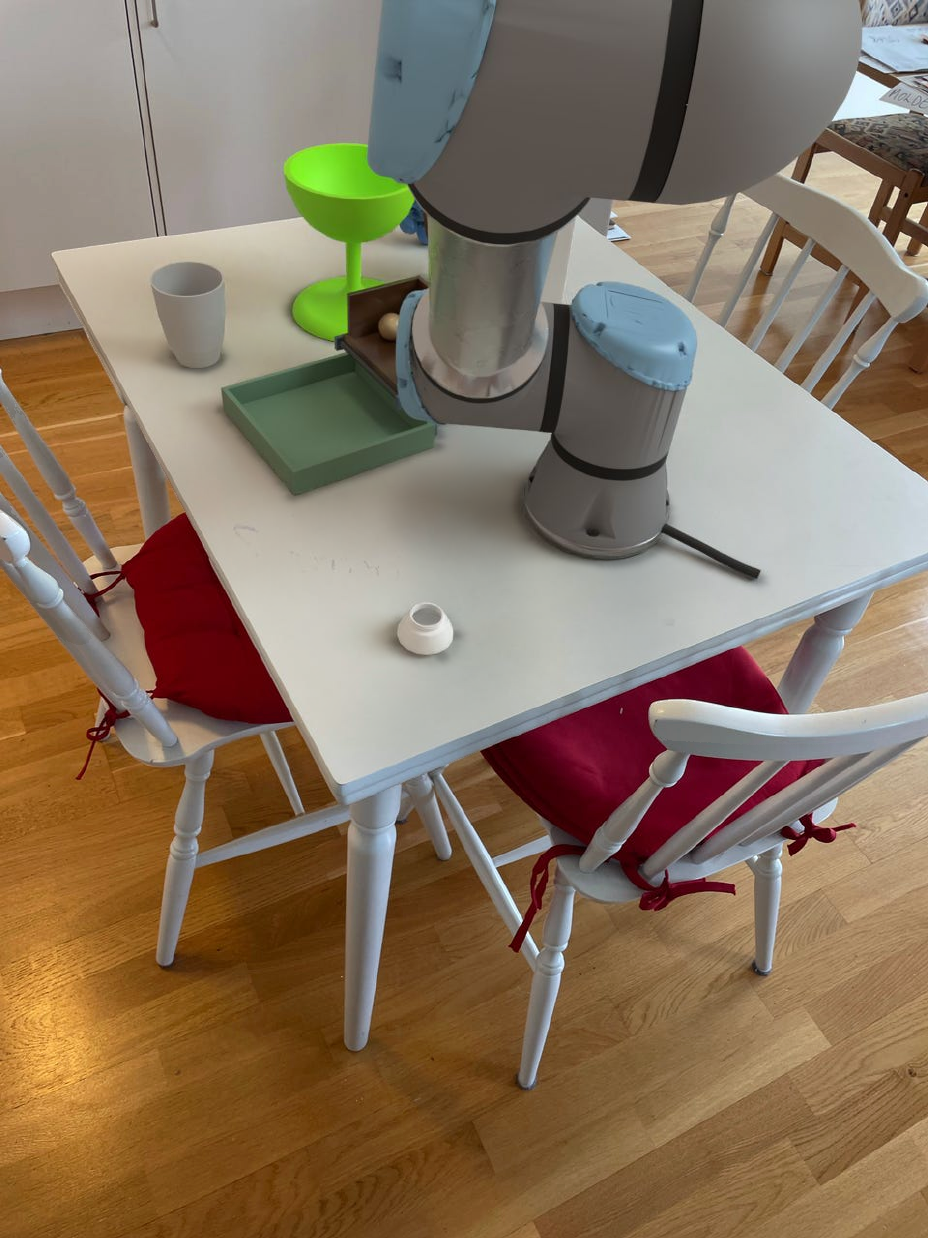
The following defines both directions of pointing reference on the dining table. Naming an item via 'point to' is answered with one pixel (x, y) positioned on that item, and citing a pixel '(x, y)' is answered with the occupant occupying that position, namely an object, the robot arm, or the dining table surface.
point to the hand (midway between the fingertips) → (489, 246)
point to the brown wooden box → (364, 330)
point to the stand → (397, 400)
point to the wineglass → (341, 223)
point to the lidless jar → (425, 629)
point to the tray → (323, 422)
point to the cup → (191, 311)
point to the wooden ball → (389, 326)
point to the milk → (559, 266)
